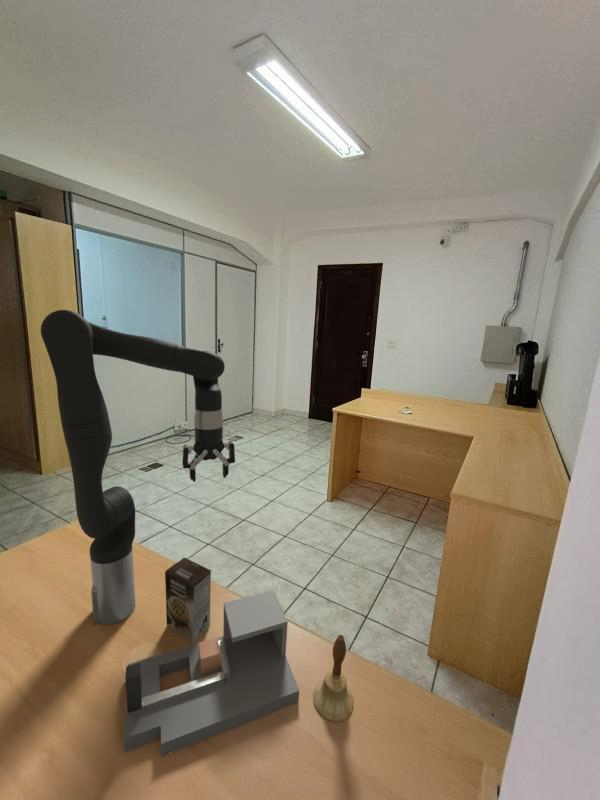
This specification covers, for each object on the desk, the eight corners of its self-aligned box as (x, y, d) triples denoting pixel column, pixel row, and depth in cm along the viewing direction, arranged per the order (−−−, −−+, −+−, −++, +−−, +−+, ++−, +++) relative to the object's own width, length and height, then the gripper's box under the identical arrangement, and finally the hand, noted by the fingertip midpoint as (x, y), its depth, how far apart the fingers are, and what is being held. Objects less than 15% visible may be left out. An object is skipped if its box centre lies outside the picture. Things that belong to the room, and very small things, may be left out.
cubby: (123, 772, 59) (119, 716, 56) (129, 675, 75) (126, 627, 72) (298, 702, 71) (302, 653, 69) (271, 631, 87) (273, 590, 84)
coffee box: (165, 627, 86) (163, 571, 83) (184, 609, 92) (183, 555, 88) (192, 644, 82) (192, 586, 79) (211, 624, 88) (211, 569, 84)
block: (201, 674, 73) (201, 659, 72) (198, 657, 76) (198, 642, 75) (220, 668, 74) (220, 653, 73) (217, 651, 78) (217, 637, 77)
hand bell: (357, 689, 75) (365, 627, 71) (347, 730, 67) (355, 663, 63) (320, 673, 77) (326, 613, 74) (307, 710, 70) (312, 645, 66)
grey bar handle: (127, 718, 64) (125, 678, 62) (130, 676, 71) (127, 639, 69) (230, 682, 71) (231, 646, 69) (223, 648, 79) (223, 613, 77)
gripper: (231, 419, 103) (231, 470, 106) (180, 422, 97) (182, 476, 101) (237, 426, 96) (236, 481, 99) (182, 430, 90) (184, 487, 94)
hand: (209, 478), depth 100 cm, fingers open, 8 cm apart
